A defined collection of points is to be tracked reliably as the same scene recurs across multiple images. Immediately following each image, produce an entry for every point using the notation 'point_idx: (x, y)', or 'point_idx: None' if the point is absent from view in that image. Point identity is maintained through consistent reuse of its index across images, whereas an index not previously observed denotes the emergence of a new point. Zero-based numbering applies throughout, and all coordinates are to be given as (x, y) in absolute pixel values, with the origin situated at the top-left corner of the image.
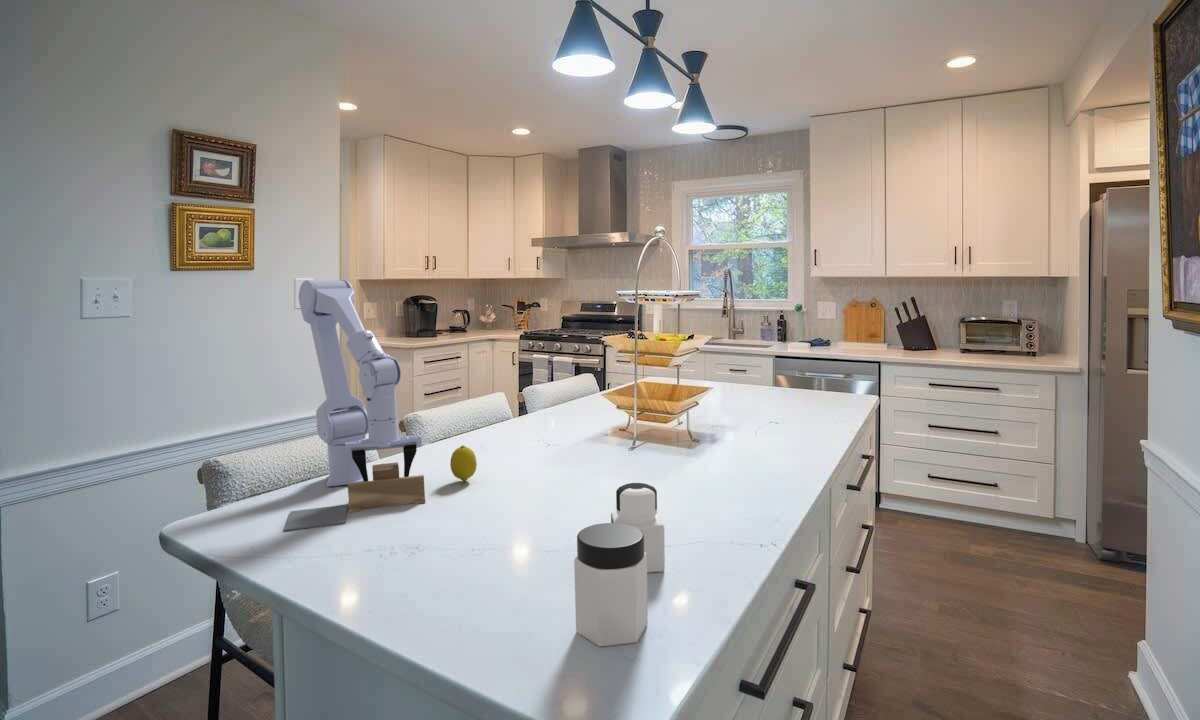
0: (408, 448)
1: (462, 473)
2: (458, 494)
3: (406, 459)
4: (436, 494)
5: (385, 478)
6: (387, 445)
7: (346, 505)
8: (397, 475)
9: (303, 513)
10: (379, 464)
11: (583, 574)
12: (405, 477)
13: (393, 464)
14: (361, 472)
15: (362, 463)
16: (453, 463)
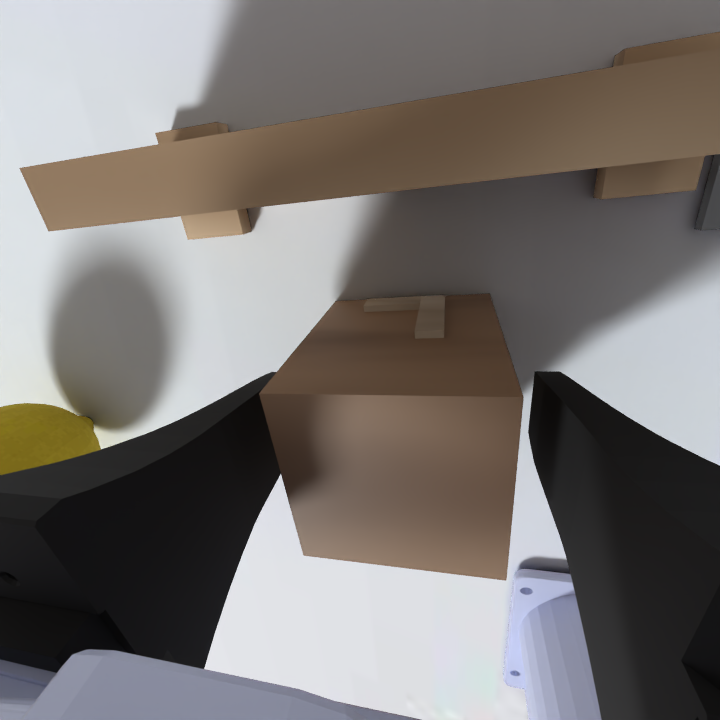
0: (42, 596)
1: (21, 408)
2: (43, 242)
3: (145, 458)
4: (153, 282)
5: (398, 353)
6: (58, 707)
7: (712, 204)
8: (298, 363)
9: None
10: (445, 567)
11: None
12: (181, 194)
13: (328, 522)
14: (646, 433)
15: (699, 497)
16: (12, 468)
